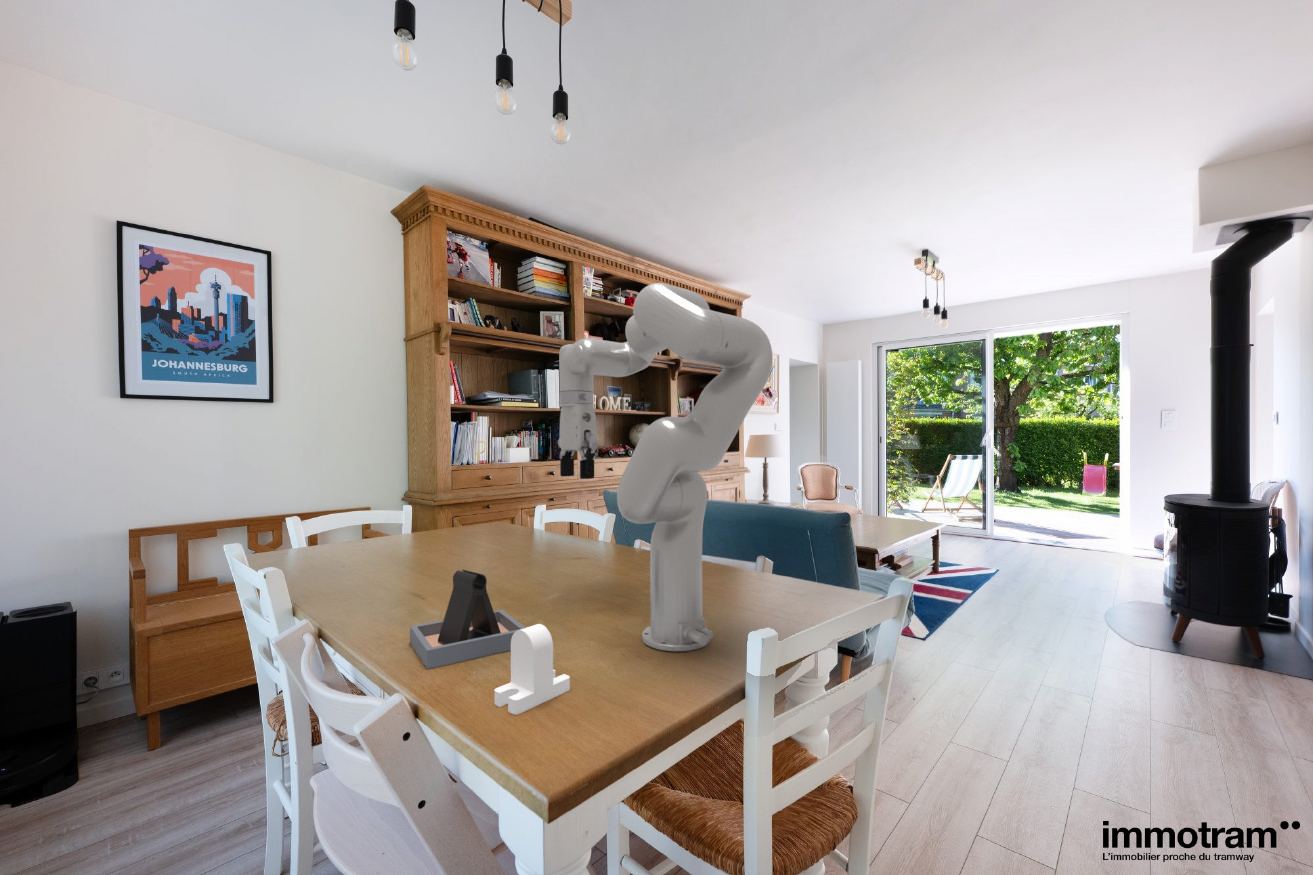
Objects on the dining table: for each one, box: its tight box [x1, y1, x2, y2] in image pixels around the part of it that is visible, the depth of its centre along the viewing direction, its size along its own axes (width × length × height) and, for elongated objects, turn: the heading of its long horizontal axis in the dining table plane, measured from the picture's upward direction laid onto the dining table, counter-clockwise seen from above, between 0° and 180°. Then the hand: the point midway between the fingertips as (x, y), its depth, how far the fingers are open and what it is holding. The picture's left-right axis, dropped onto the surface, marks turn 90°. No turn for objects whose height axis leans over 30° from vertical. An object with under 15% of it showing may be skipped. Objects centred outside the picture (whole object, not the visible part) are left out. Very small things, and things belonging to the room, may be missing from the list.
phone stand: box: [438, 569, 501, 645], centre depth 99 cm, size 9×6×12 cm, turn 142°
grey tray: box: [409, 609, 527, 670], centre depth 99 cm, size 14×17×3 cm
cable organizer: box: [493, 623, 571, 716], centre depth 79 cm, size 5×10×10 cm, turn 140°
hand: (576, 477), depth 123 cm, fingers open, 9 cm apart
